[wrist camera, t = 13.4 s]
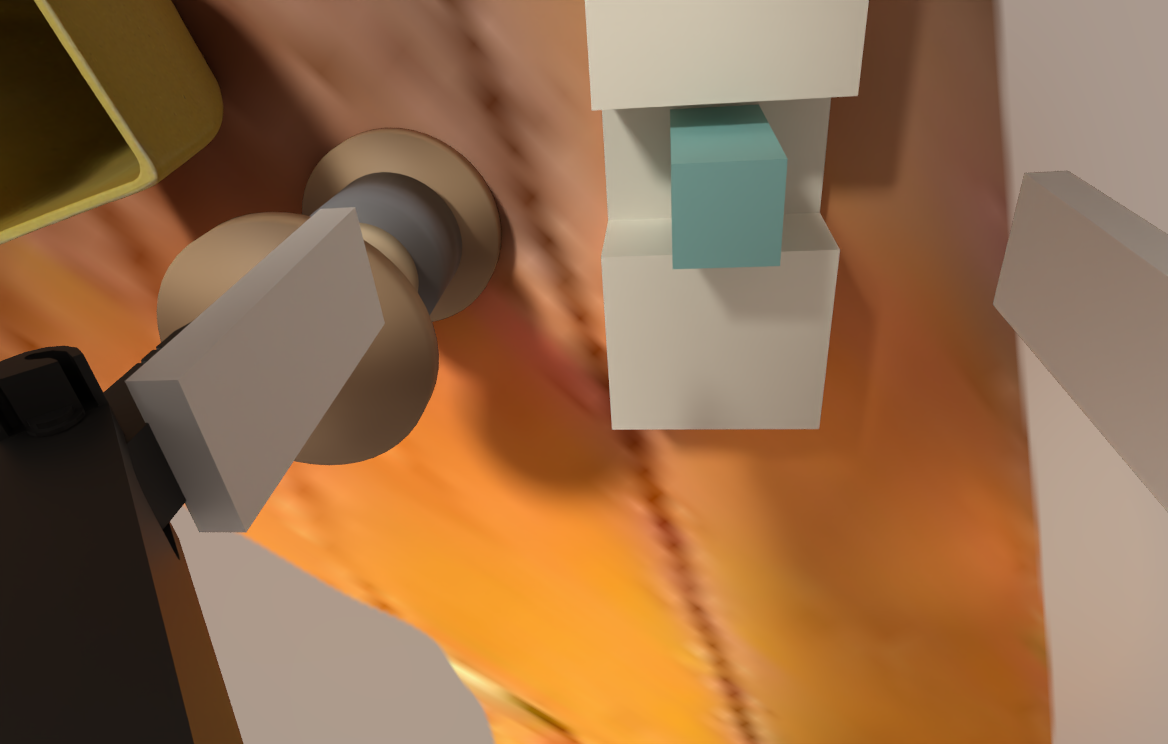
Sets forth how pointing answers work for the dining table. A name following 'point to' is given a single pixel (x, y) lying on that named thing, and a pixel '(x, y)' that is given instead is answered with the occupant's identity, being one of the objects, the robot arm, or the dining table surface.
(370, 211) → the door knob
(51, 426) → the robot arm
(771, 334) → the notched board
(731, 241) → the block
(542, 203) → the dining table surface
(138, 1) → the flower pot
